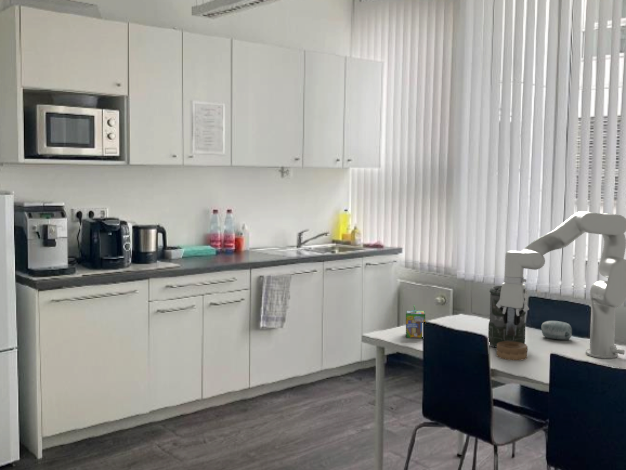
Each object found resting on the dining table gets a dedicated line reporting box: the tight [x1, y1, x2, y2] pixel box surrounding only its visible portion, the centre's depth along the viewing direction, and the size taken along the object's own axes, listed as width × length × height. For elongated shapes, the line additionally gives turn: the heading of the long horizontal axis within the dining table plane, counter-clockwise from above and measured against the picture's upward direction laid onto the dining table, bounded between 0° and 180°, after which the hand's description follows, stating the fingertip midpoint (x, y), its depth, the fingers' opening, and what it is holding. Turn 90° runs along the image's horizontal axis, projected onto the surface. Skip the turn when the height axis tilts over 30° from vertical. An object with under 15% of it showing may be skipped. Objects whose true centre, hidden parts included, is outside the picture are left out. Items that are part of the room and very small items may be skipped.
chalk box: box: [405, 304, 426, 339], centre depth 331 cm, size 9×9×15 cm
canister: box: [487, 285, 527, 349], centre depth 313 cm, size 16×16×28 cm
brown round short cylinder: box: [496, 341, 528, 361], centre depth 296 cm, size 12×12×5 cm
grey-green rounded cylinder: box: [540, 320, 573, 341], centre depth 327 cm, size 14×10×10 cm
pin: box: [506, 307, 516, 336], centre depth 294 cm, size 4×4×14 cm
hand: (511, 323), depth 294 cm, fingers closed on pin, 4 cm apart
